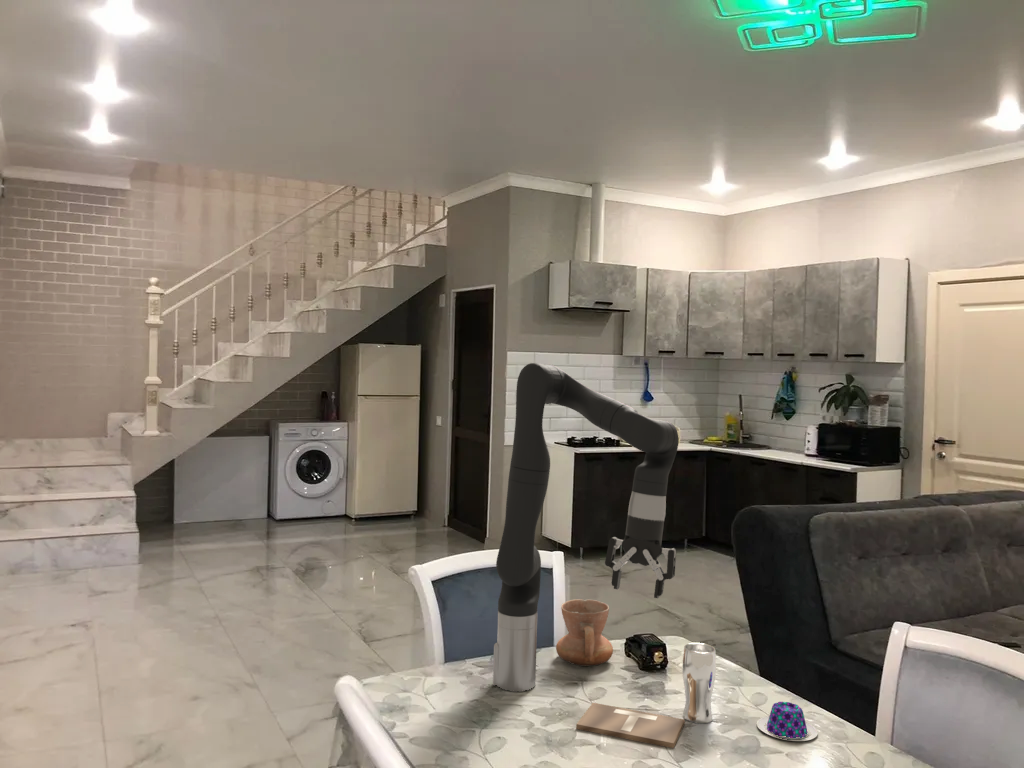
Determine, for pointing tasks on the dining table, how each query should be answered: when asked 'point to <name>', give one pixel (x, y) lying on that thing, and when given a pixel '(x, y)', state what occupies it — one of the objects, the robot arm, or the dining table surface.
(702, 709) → the beer glass
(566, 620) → the ceramic jug
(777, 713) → the pudding
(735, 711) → the dining table surface
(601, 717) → the board
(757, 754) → the dining table surface
